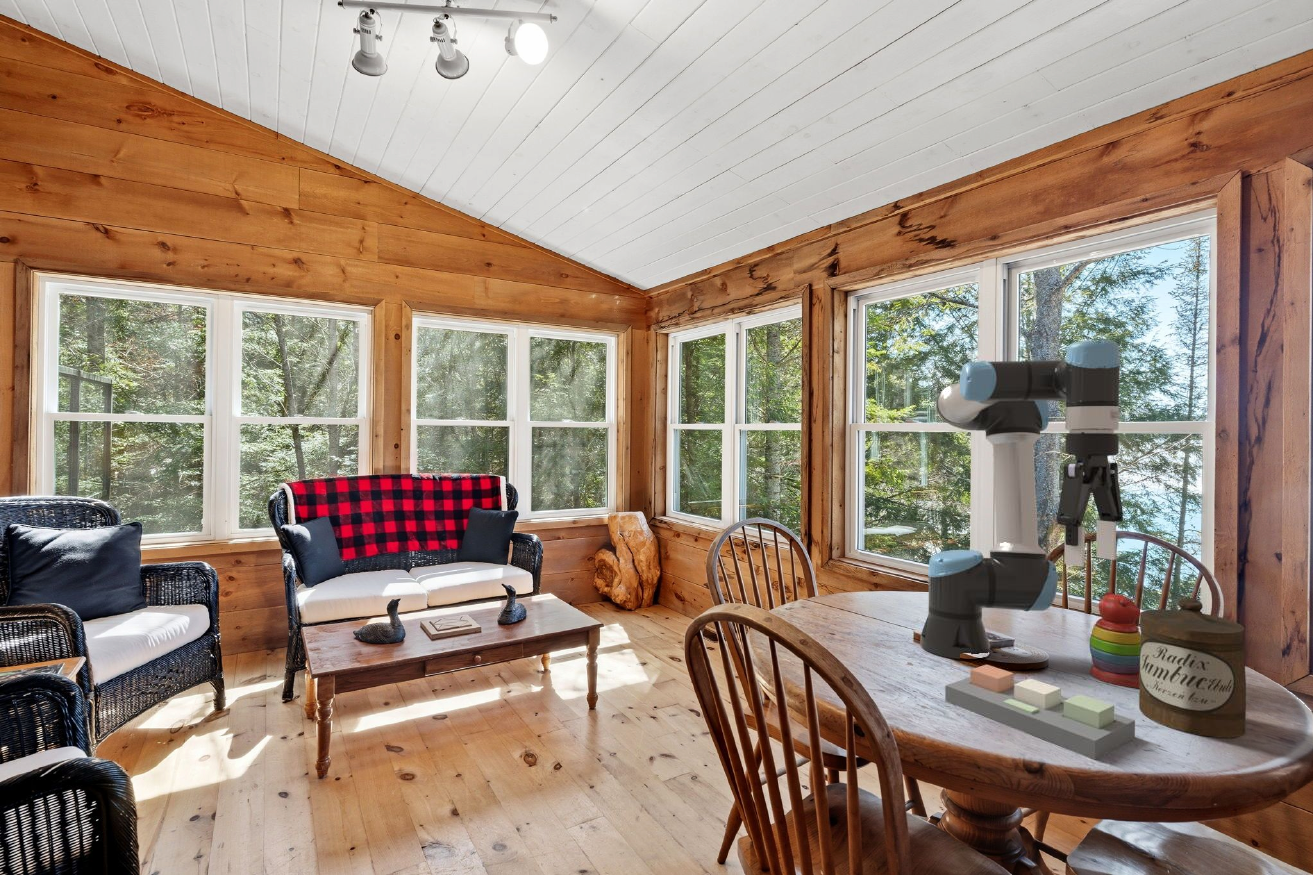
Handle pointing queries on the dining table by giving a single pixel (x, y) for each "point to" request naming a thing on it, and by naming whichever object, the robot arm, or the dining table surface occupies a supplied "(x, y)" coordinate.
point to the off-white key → (1037, 694)
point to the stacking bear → (1116, 642)
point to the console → (1041, 719)
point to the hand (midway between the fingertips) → (1090, 561)
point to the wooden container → (1193, 671)
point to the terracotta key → (992, 678)
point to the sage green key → (1089, 711)
